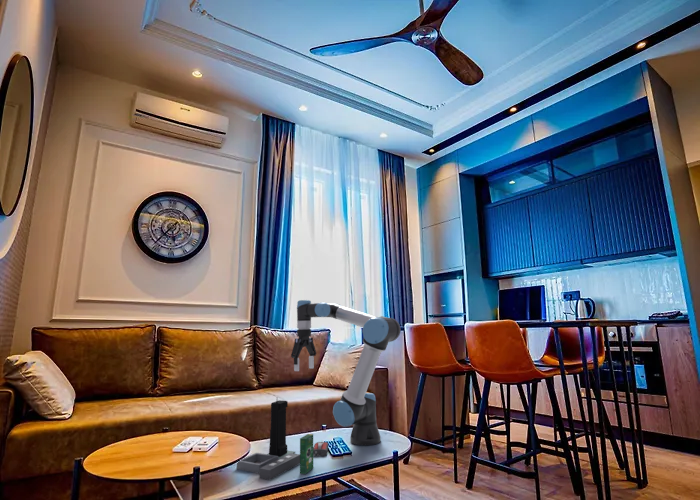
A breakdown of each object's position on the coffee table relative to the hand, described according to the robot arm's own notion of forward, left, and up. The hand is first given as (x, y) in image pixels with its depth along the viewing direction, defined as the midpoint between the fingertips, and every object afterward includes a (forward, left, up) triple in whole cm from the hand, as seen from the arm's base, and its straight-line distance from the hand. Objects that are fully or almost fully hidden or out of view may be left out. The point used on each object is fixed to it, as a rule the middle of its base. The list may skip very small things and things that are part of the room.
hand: (304, 369), depth 205 cm
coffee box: (-26, +36, -35) cm, 56 cm away
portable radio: (-3, +25, -34) cm, 43 cm away
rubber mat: (-3, +25, -35) cm, 43 cm away
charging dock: (-8, +40, -35) cm, 54 cm away
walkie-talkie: (-19, +17, -35) cm, 43 cm away
